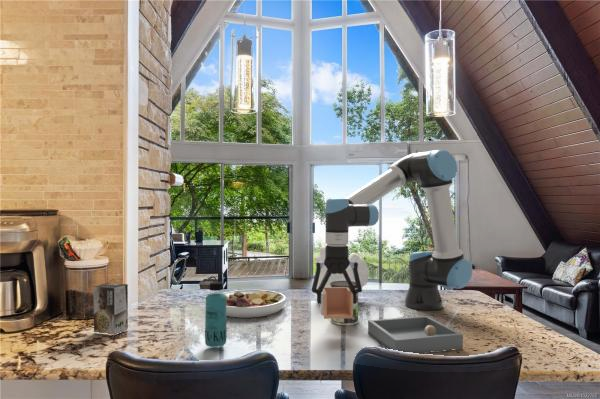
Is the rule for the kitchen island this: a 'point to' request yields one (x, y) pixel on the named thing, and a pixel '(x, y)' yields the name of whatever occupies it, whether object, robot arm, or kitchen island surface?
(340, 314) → the open brown box
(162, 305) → the kitchen island surface
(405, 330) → the tray
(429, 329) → the ball
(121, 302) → the coffee box
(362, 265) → the decorative rooster
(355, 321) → the coffee can
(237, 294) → the bowl
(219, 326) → the beverage bottle
